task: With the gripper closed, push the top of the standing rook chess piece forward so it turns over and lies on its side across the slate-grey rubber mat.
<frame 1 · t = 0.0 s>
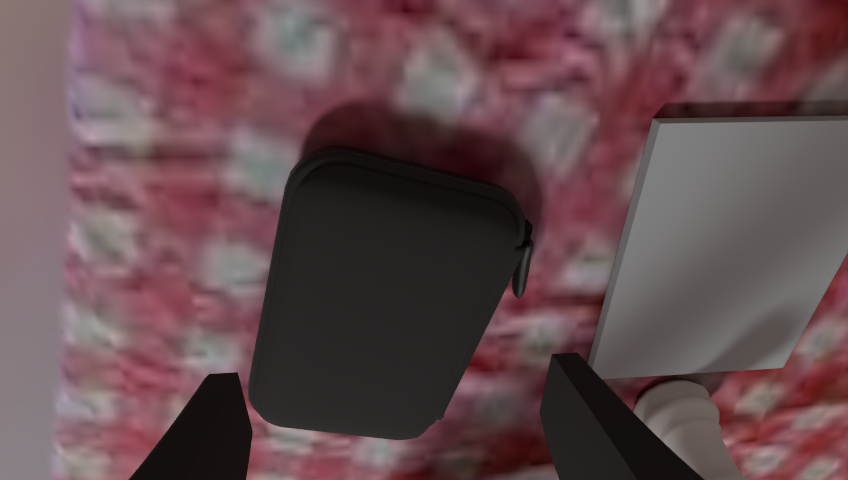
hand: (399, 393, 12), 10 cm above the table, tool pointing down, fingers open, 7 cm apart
rook chess piece: (664, 399, 29), on the table
slate mat: (724, 260, 24), on the table
carrying case or bag: (386, 294, 24), on the table
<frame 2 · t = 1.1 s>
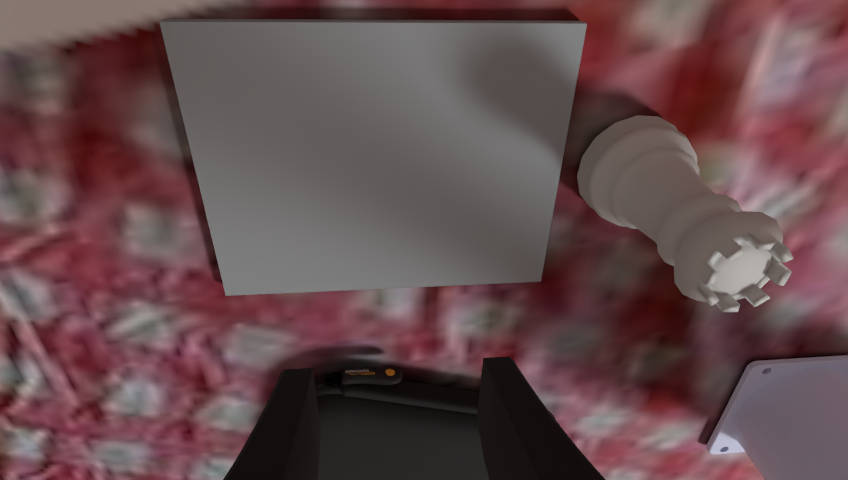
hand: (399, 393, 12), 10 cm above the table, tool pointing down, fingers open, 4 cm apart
rook chess piece: (623, 161, 21), on the table
slate mat: (384, 169, 20), on the table
carrying case or bag: (417, 420, 29), on the table
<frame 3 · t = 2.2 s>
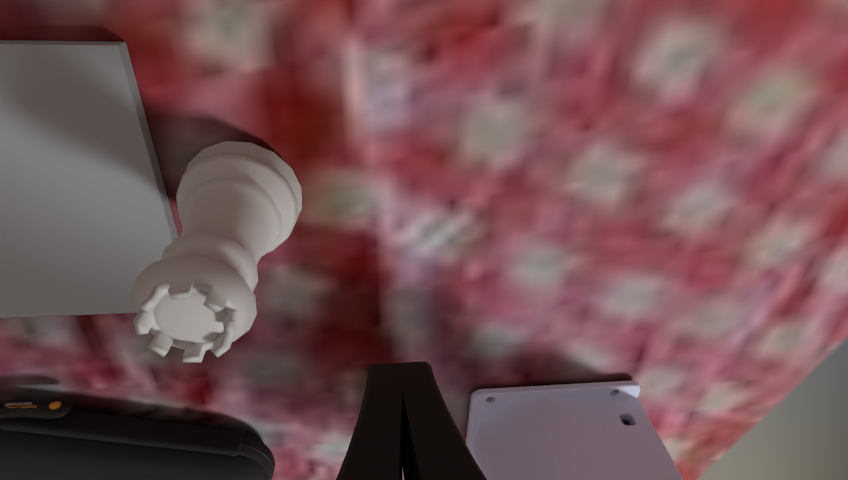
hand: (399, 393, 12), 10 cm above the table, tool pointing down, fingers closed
rook chess piece: (247, 187, 20), on the table
carrying case or bag: (138, 449, 28), on the table
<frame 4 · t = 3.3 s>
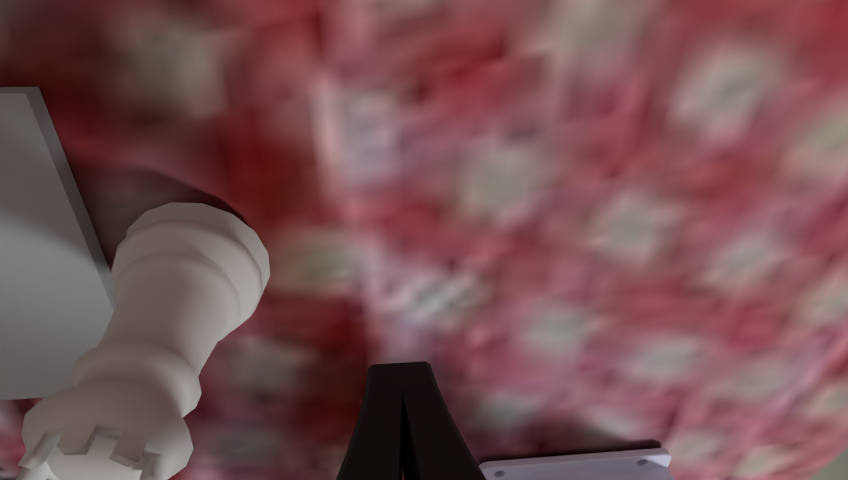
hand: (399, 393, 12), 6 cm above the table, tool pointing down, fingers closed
rook chess piece: (204, 251, 17), on the table
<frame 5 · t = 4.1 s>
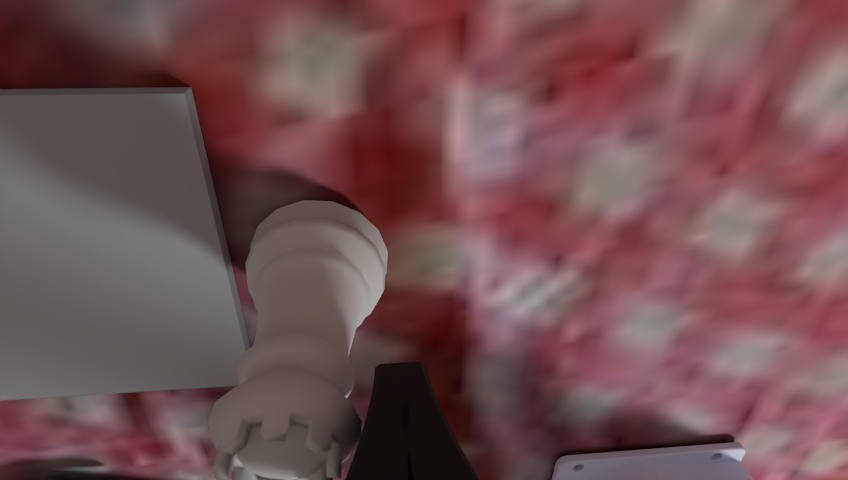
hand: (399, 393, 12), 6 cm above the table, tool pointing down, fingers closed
rook chess piece: (322, 248, 17), on the table, touching gripper
slate mat: (2, 264, 16), on the table
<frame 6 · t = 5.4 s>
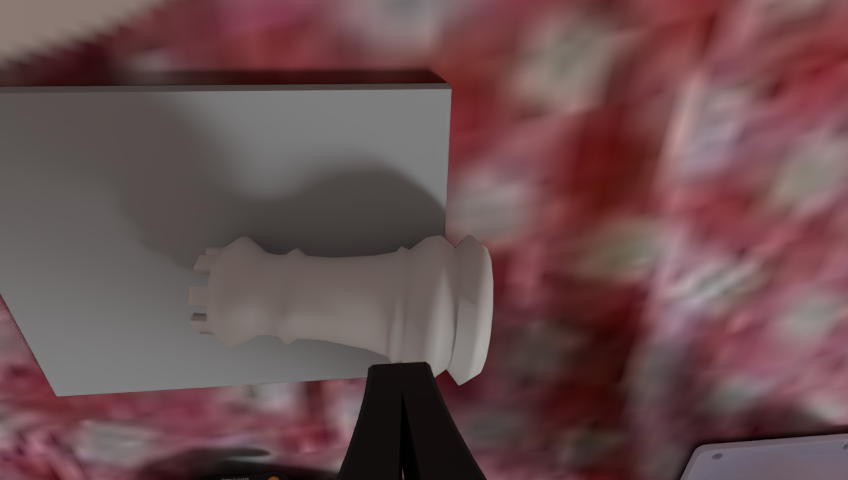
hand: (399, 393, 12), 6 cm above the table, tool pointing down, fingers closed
rook chess piece: (485, 310, 15), point 3 cm above the table, touching slate mat
slate mat: (230, 254, 17), on the table
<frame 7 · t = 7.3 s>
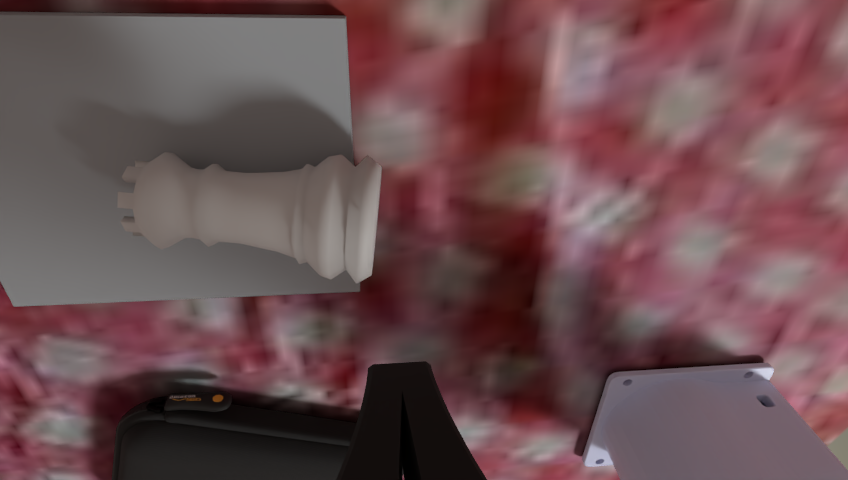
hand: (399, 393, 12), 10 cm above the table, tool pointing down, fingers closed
rook chess piece: (382, 221, 17), point 3 cm above the table, touching slate mat
slate mat: (164, 173, 19), on the table
carrying case or bag: (269, 444, 29), on the table
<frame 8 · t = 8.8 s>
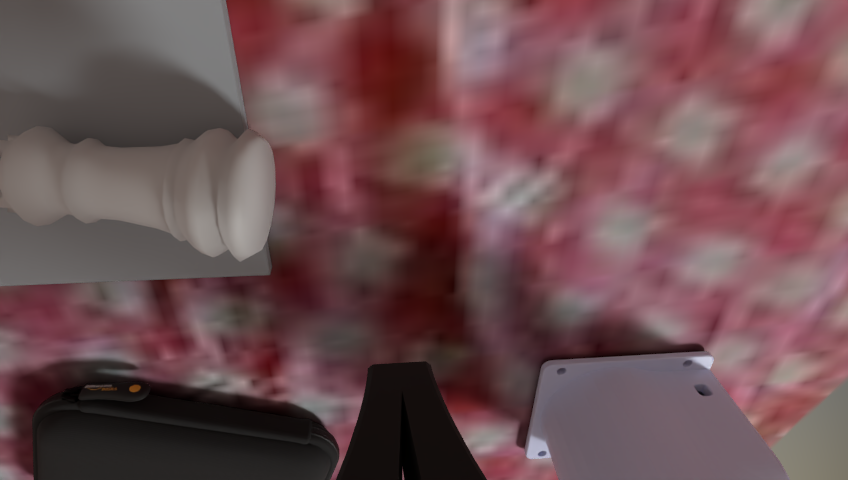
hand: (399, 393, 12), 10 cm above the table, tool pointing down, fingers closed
rook chess piece: (268, 197, 17), point 3 cm above the table, touching slate mat
slate mat: (54, 151, 18), on the table
carrying case or bag: (201, 437, 28), on the table
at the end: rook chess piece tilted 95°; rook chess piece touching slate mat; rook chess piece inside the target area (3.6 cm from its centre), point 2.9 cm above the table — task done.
